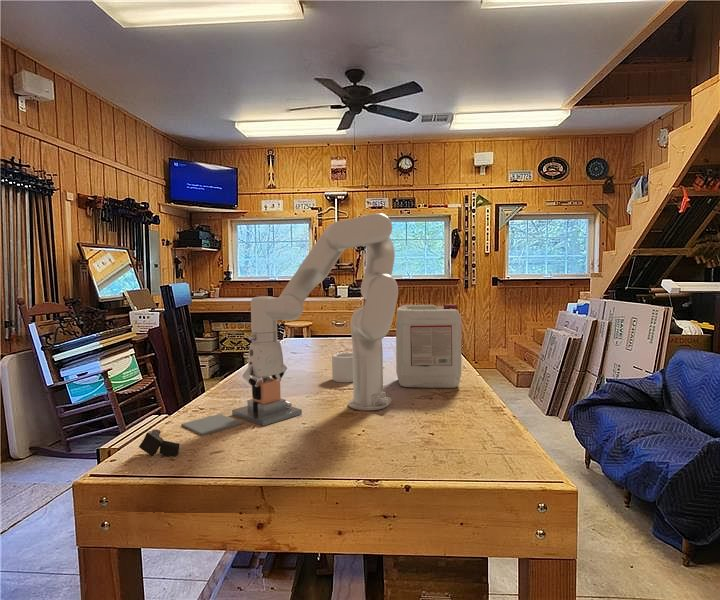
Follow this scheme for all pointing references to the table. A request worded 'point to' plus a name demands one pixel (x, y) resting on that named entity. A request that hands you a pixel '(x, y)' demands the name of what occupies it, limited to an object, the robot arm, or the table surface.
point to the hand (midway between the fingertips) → (266, 396)
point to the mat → (211, 424)
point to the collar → (269, 391)
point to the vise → (267, 410)
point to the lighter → (158, 444)
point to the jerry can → (428, 346)
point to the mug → (342, 367)
